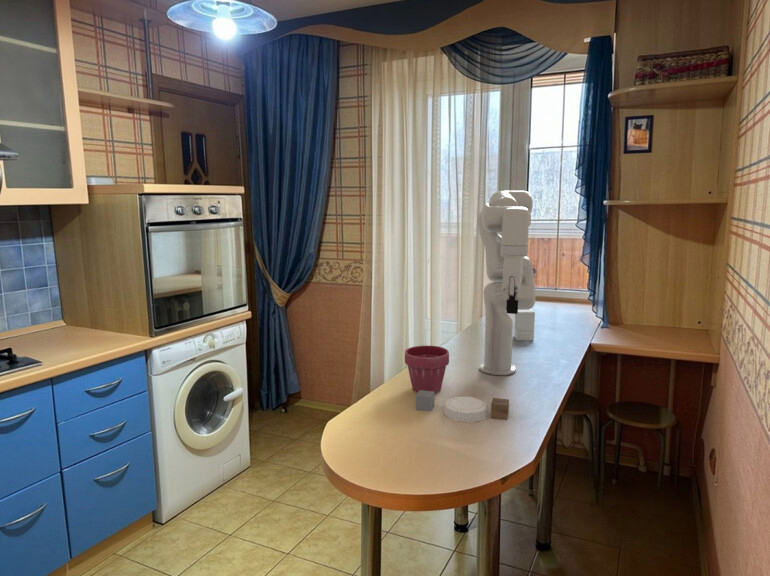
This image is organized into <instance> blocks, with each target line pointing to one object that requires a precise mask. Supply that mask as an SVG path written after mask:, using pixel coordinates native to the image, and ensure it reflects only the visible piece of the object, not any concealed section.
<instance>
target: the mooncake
mask: <svg viewBox="0 0 770 576" xmlns="http://www.w3.org/2000/svg"><path fill="white" fill-rule="evenodd" d="M443 412H444V414H445V417H447V418H448V419H449V420H452V421H456V422H457V421H458V422H459V423H463V422H464V423H475V422H480V421H483V420H486V419H485V418H487V416H488V405H487V403H486V402H485V401H483V400H482V399H479V398H476V397H471V396H456V397H451V398H449V399H447V400H446V401H445V403H444V411H443Z"/></svg>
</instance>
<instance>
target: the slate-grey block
mask: <svg viewBox="0 0 770 576" xmlns="http://www.w3.org/2000/svg"><path fill="white" fill-rule="evenodd" d="M435 394H436V393H435V392H433V391H424V390H419V392H418V393H417V392H416V395H415V410H416V411H423V412H432V411H433V409H434V407H435Z"/></svg>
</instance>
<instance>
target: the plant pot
mask: <svg viewBox="0 0 770 576" xmlns="http://www.w3.org/2000/svg"><path fill="white" fill-rule="evenodd" d="M404 363H405V365H406V366H407V369H408V374H409V379H410V383H411V387H412V391H413V392H415V393H416V394H417V393H418V392H419V390H424V391H433V392H435V393H434V394H437V393H440V392H441V390H442V386H443V382H444V377H445V372H446V368H447V366H448V365H449V364H450V352H449V349H447V348H444V347H442V346H439V345H416V346H412V347H408V348H406V349H405V350H404Z"/></svg>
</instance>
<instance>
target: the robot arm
mask: <svg viewBox="0 0 770 576" xmlns="http://www.w3.org/2000/svg"><path fill="white" fill-rule="evenodd" d="M533 203H534V202H533V198H532V195H531V194H530V193H529V191H526V190H499V191H496V192H494V193H493V194H492V195H491V197H489V200H488V201H487V202H485V203H484V205H483V206H482V209H481V212H480V213H479V214H478V217H477V225H478V226H477V227H478V232H479V237H480V240H481V241H482V243H483V246H484V249H485V265H486V266H485V267H486V274H487V278H488V280H490V281H491V282H490V283H488V284H486V285H485V286H484V289H483V303H484V309H485V310H484V311H485V312H484V313H485V315H484V316H485V317H484V318H485V323H484V326H485V329H484V354H483V355H484V356H483V357H484V358H483V361H484V362H482V363H481V364H480V365H479V371H481V372H482V373H485V374H488V375H493V376H509V375H512V374H515V373H516V372H517V367H516V366H515V365H514V364H512V361H513V359H512V358H513V337H514V336H513V335H514V334H513V332H514V322H513V319H512V317H511V316H510V314H513V315H515V314H517V313H518V310H528V309H532V308H534V306H535V304H536V288H535V287H536V286H535V278H534V268H533V264H532V263H533V262H532V260H531V259H530V258H529V257H528V255H529V254H528V252H529V251H528V250H529V231H530V230H529V227H530V226H531V225H532V212H533V205H534V204H533ZM499 233H501V234H499Z"/></svg>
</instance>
